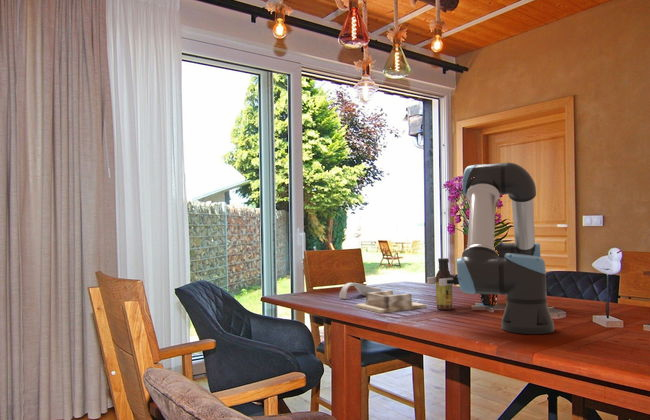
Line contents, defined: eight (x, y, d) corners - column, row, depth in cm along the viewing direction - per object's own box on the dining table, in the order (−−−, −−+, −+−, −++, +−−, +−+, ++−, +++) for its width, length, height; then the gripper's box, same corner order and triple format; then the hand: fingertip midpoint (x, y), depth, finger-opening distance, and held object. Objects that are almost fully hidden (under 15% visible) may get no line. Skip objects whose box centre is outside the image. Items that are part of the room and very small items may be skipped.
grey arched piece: (368, 293, 248) (368, 278, 248) (386, 295, 239) (386, 280, 239) (334, 298, 232) (333, 283, 232) (351, 300, 223) (351, 284, 223)
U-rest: (380, 313, 188) (380, 298, 188) (355, 307, 204) (355, 293, 204) (425, 307, 198) (425, 293, 198) (398, 302, 214) (398, 288, 214)
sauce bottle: (448, 310, 190) (447, 259, 190) (433, 309, 193) (432, 258, 194) (455, 308, 195) (453, 257, 196) (440, 307, 199) (439, 257, 199)
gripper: (495, 289, 195) (451, 294, 184) (460, 284, 211) (418, 289, 200) (494, 269, 195) (450, 273, 184) (460, 267, 212) (417, 270, 201)
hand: (433, 281), depth 192 cm, fingers closed on sauce bottle, 6 cm apart
